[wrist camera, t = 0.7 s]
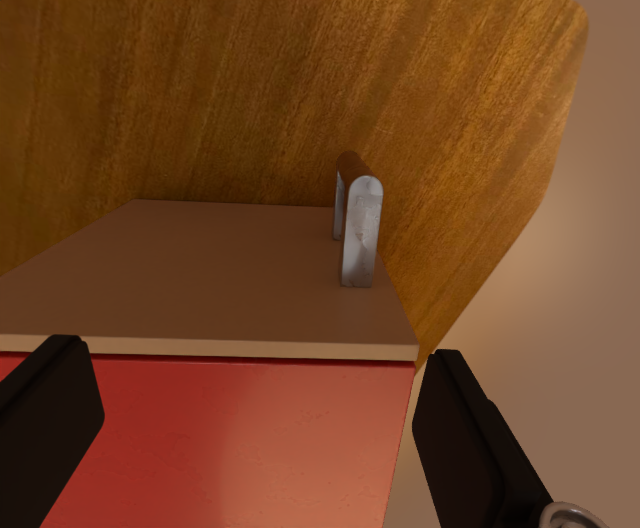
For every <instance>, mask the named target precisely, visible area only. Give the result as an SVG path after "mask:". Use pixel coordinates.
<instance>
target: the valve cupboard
mask: <svg viewBox="0 0 640 528" xmlns="http://www.w3.org/2000/svg"><path fill="white" fill-rule="evenodd" d="M31 353H32V352H26V351H0V382H1V381H2V380H3V379H4V378H5V377H6V376H7V375H8V374H9V373H10V372H12V371H13V370H14V369H15V368H16V367H17V366H18V365H19V364H20V363H21V362H22V361H23V360H24V359H26V358H27V357H28V356H29V355H30V354H31ZM90 356H91V360H92V364H93V368H94V372H95V376H96V380H97V384H98V388H99V392H100V396H101V400H102V404H103V408H104V412H105V419H104V423H103V426H102V428H101V430H100V431H99V433H98V434H97V436H96V438H95V439H94V441H93V442H92V444H91V446H90V447H89V449H88V450H87V452H86V454H85V455H84V457H83V458H82V460H81V462H80V463H79V465H78V467H77V468H76V470H75V471H74V473H73V475H72V476H71V478H70V479H69V481H68V483H67V484H66V486H65V487H64V489H63V491H62V492H61V494H60V495H59V497H58V499H57V500H56V502H55V503H54V505H53V507H52V508H51V510H50V511H49V513H48V515H47V516H46V518H45V519H44V521H43V523H42V524H41V526H40V527H39V528H383V523H384V518H385V514H386V509H387V504H388V499H389V494H390V490H391V485H392V480H393V475H394V471H395V466H396V461H397V456H398V451H399V447H400V442H401V436H402V432H403V427H404V422H405V418H406V413H407V408H408V403H409V398H410V394H411V389H412V384H413V380H414V375H415V370H416V366H415V364H414V361H408V360H365V359H323V358H281V357H238V356H196V355H153V354H111V353H90Z"/></svg>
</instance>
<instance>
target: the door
mask: <svg viewBox="0 0 640 528" xmlns="http://www.w3.org/2000/svg"><path fill="white" fill-rule="evenodd" d="M383 193H384V190H383V186H382V184H381V182H380V181H379V179H378V178H377V177H376V176H375V175H374V173H373V172H372V171H371V170H370V169H369V167H368V166H367V165H366V164H365V163H364V161H363V160H362V159H361V158H360V157H359V155H358V154H357V153H355V152H354V151H344V152H342V153H341V154H340V155H339V156H338V158H337V161H336V172H335V186H334V201H333V207H310V206H287V205H263V204H240V203H217V202H194V201H171V200H148V199H132V200H131V201H129V202H127V203H126V204H124V205H122V206H120V207H119V208H117V209H115V210H114V211H112V212H110V213H109V214H107V215H105V216H103V217H102V218H100V219H98V220H97V221H95V222H93V223H91V224H90V225H88V226H86V227H85V228H83V229H81V230H79V231H78V232H76V233H74V234H73V235H71V236H69V237H67V238H66V239H64V240H62V241H61V242H59V243H57V244H56V245H54V246H52V247H50V248H49V249H47V250H45V251H44V252H42V253H40V254H38V255H37V256H35V257H33V258H32V259H30V260H28V261H26V262H25V263H23V264H21V265H20V266H18V267H16V268H14V269H13V270H11V271H9V272H8V273H6V274H4V275H2V276H1V277H0V351H26V352H33V351H34V350H35V349H36V348H37V347H38V346H40V345H41V344H42V343H43V342H44V341H45V340H46V339H47V338H48V337H50V336H51V335H54V334H65V335H78V336H79V337H80V338H81V339H82V341H85V342H86V343H87V345H88V348H89V352H90V353H111V354H153V355H196V356H238V357H281V358H323V359H365V360H408V361H416V360H417V355H418V350H419V343H418V341H417V338H416V336H415V334H414V332H413V329H412V327H411V325H410V323H409V320H408V318H407V316H406V314H405V311H404V309H403V307H402V305H401V302H400V300H399V298H398V296H397V293H396V291H395V289H394V287H393V284H392V282H391V280H390V277H389V275H388V273H387V271H386V268H385V266H384V264H383V262H382V259H381V257H380V255H379V253H378V250H377V241H378V233H379V225H380V217H381V209H382V201H383Z"/></svg>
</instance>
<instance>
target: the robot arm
mask: <svg viewBox="0 0 640 528" xmlns="http://www.w3.org/2000/svg"><path fill="white" fill-rule="evenodd" d="M104 419H105V412H104V408H103V404H102V400H101V396H100V392H99V388H98V384H97V380H96V376H95V372H94V368H93V364H92V360H91V356H90V352H89V348H88V345H87V343H86V342H85V341H82V339H81V338H80V337H79V336H78V335H65V334H54V335H51V336H50V337H48V338H47V339H46V340H45V341H44V342H43V343H42V344H41V345H40V346H38V347H37V348H36V349H35V350H34V351H33V352H32V353H31V354H30V355H29V356H28V357H27V358H26V359H24V360H23V361H22V362H21V363H20V364H19V365H18V366H17V367H16V368H15V369H14V370H13V371H12V372H10V373H9V374H8V375H7V376H6V377H5V378H4V379H3V380H2V381H1V382H0V528H39V527H40V526H41V524H42V523H43V521H44V519H45V518H46V516H47V515H48V513H49V511H50V510H51V508H52V507H53V505H54V503H55V502H56V500H57V499H58V497H59V495H60V494H61V492H62V491H63V489H64V487H65V486H66V484H67V483H68V481H69V479H70V478H71V476H72V475H73V473H74V471H75V470H76V468H77V467H78V465H79V463H80V462H81V460H82V458H83V457H84V455H85V454H86V452H87V450H88V449H89V447H90V446H91V444H92V442H93V441H94V439H95V438H96V436H97V434H98V433H99V431H100V430H101V428H102V426H103V423H104ZM412 432H413V437H414V440H415V444H416V447H417V450H418V453H419V457H420V460H421V463H422V466H423V470H424V473H425V476H426V480H427V483H428V486H429V490H430V493H431V496H432V499H433V503H434V506H435V509H436V512H437V516H438V519H439V522H440V526H441V528H609V527H608V526H607V525H606V524H605V523H604V522H603V521H602V520H600V519H599V518H598V517H596V516H595V515H593V514H592V513H590V512H589V511H588V510H586V509H583V508H581V507H579V506H577V505H575V504H571V503H566V502H554V501H553V500H552V498H551V496H550V495H549V493H548V491H547V490H546V488H545V486H544V485H543V483H542V481H541V480H540V478H539V477H538V475H537V473H536V471H535V470H534V468H533V466H532V465H531V463H530V461H529V460H528V458H527V456H526V455H525V453H524V451H523V450H522V448H521V446H520V445H519V443H518V442H517V440H516V438H515V436H514V435H513V433H512V431H511V430H510V428H509V426H508V425H507V423H506V422H505V420H504V418H503V416H502V415H501V413H500V412H499V410H498V408H497V407H496V405H495V404H494V403H493V402H492V401H491V400H489V399H487V397H486V395H485V393H484V392H483V390H482V388H481V387H480V385H479V383H478V381H477V380H476V378H475V376H474V375H473V373H472V371H471V370H470V368H469V366H468V365H467V363H466V361H465V360H464V358H463V356H462V354H461V353H460V351H458V350H450V349H437V350H436V351H435V353H434V354H430V355H429V357H428V360H427V364H426V369H425V372H424V376H423V380H422V385H421V389H420V393H419V397H418V401H417V405H416V409H415V413H414V417H413V421H412Z"/></svg>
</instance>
